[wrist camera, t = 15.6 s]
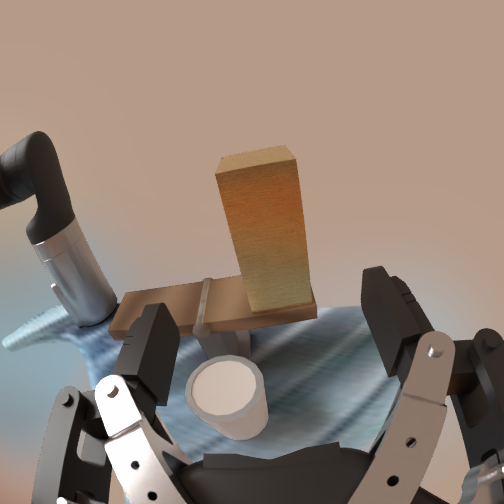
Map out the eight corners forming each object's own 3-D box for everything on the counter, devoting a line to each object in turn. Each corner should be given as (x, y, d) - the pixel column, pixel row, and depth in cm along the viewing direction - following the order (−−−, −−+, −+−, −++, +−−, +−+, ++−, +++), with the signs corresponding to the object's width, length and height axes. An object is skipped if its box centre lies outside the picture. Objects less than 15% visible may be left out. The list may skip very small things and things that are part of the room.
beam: (305, 274, 28) (303, 261, 27) (318, 321, 22) (317, 308, 21) (132, 300, 30) (126, 290, 29) (114, 343, 24) (106, 333, 23)
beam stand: (250, 334, 34) (235, 285, 29) (251, 388, 27) (232, 343, 22) (213, 338, 34) (191, 291, 30) (207, 391, 27) (179, 348, 23)
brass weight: (302, 269, 26) (285, 145, 20) (311, 304, 22) (295, 158, 16) (251, 277, 27) (222, 157, 20) (252, 314, 22) (214, 173, 16)
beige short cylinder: (216, 453, 21) (189, 430, 17) (204, 399, 26) (180, 365, 23) (284, 433, 21) (275, 407, 18) (263, 381, 27) (251, 344, 24)
